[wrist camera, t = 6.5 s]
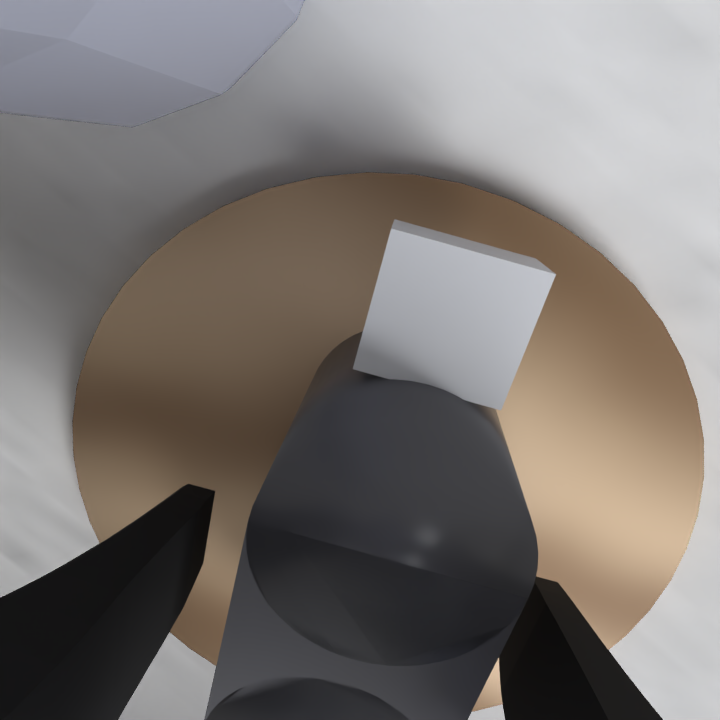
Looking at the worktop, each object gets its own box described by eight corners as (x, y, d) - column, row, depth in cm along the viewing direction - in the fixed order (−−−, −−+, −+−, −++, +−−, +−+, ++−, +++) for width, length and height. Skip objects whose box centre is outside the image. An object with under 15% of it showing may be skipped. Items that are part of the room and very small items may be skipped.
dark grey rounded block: (402, 646, 15) (397, 860, 11) (256, 605, 15) (186, 800, 11) (559, 255, 11) (666, 324, 6) (356, 199, 11) (312, 225, 6)
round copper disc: (548, 745, 17) (554, 771, 16) (78, 618, 17) (63, 639, 16) (820, 277, 11) (849, 285, 11) (107, 90, 11) (86, 85, 11)
